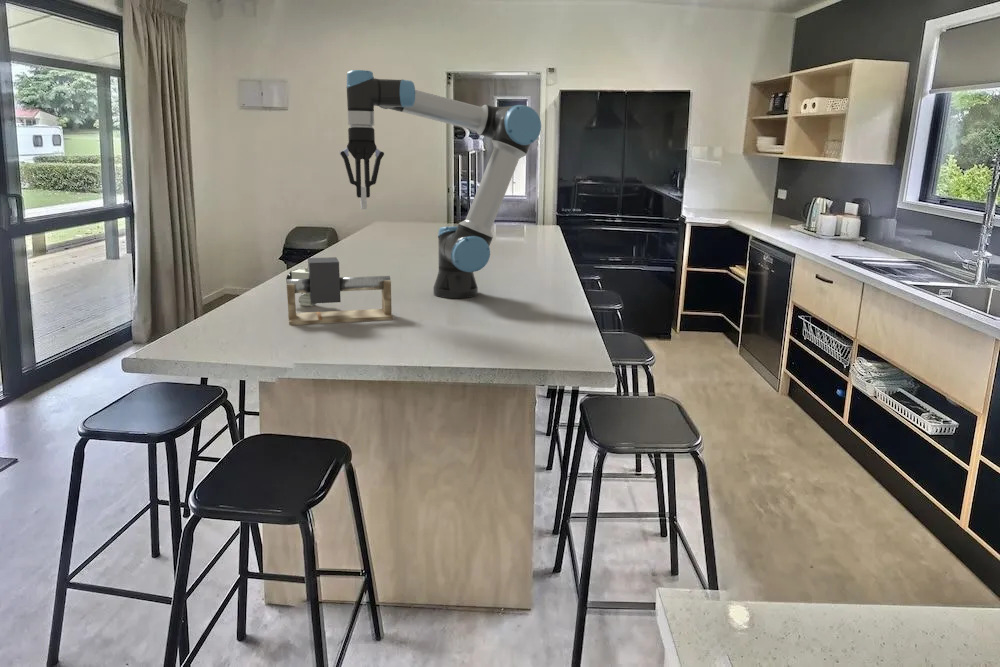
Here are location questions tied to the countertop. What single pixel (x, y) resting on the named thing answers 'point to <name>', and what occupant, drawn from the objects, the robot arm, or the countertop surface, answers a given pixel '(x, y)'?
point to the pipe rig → (340, 315)
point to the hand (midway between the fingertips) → (363, 208)
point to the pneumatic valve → (301, 274)
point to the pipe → (344, 283)
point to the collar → (324, 280)
